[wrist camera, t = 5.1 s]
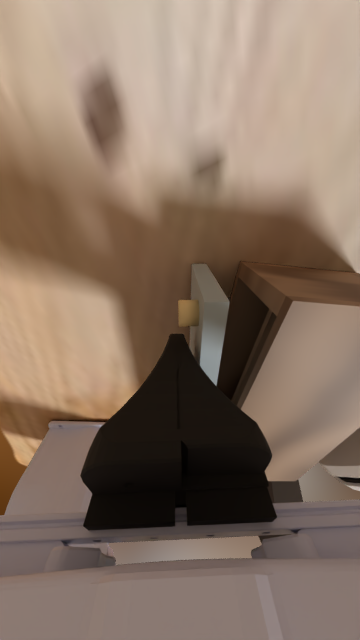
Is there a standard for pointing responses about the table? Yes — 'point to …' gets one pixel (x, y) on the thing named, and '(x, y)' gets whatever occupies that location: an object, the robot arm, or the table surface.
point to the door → (205, 319)
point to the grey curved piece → (345, 461)
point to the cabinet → (294, 360)
